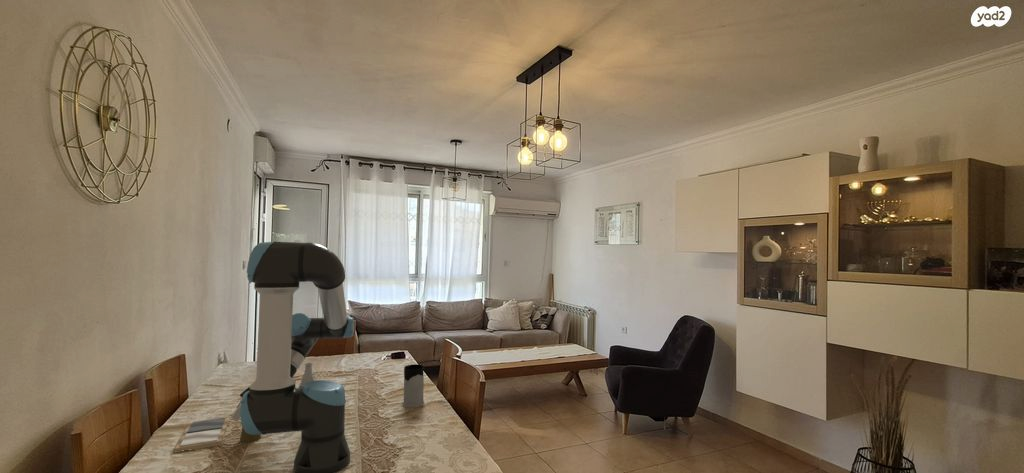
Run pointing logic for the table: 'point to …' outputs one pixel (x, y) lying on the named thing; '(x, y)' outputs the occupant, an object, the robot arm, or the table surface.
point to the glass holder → (413, 386)
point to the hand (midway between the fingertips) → (248, 422)
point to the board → (203, 434)
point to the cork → (248, 437)
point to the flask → (307, 374)
